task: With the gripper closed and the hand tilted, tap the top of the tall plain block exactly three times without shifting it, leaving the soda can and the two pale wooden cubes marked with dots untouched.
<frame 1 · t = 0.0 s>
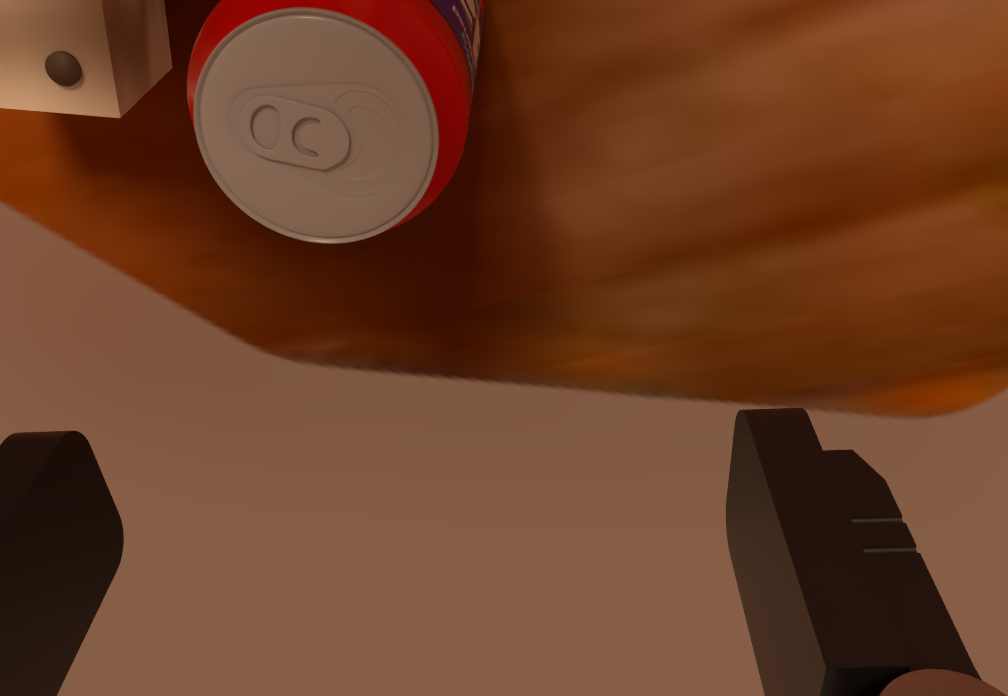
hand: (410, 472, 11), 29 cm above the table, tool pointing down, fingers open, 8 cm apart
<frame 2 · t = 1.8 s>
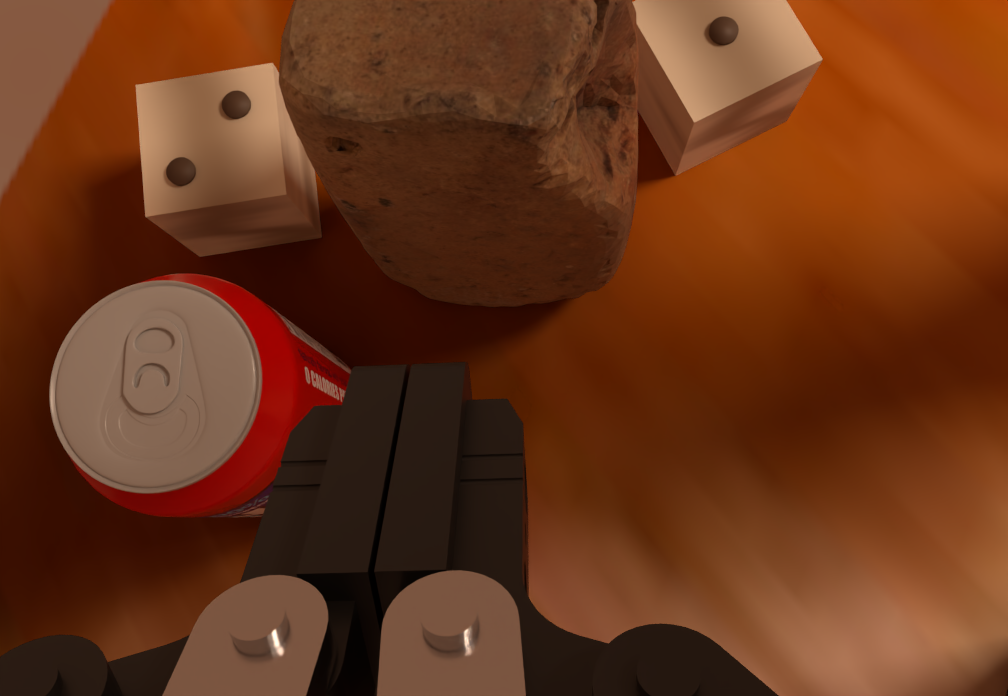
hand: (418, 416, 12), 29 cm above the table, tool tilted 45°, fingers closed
dotted cube two: (255, 189, 44), on the table
dotted cube one: (700, 97, 44), on the table
soda can: (294, 430, 42), on the table
block: (506, 238, 43), on the table
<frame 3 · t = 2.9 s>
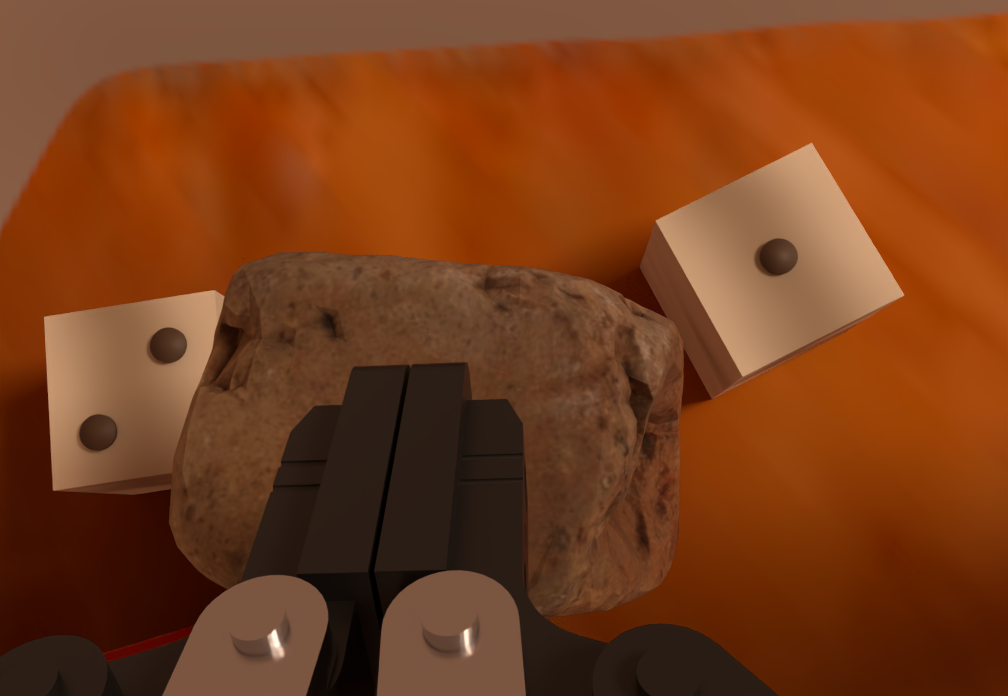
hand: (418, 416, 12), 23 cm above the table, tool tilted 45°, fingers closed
dotted cube two: (202, 409, 36), on the table
dotted cube one: (741, 299, 36), on the table
block: (505, 475, 35), on the table
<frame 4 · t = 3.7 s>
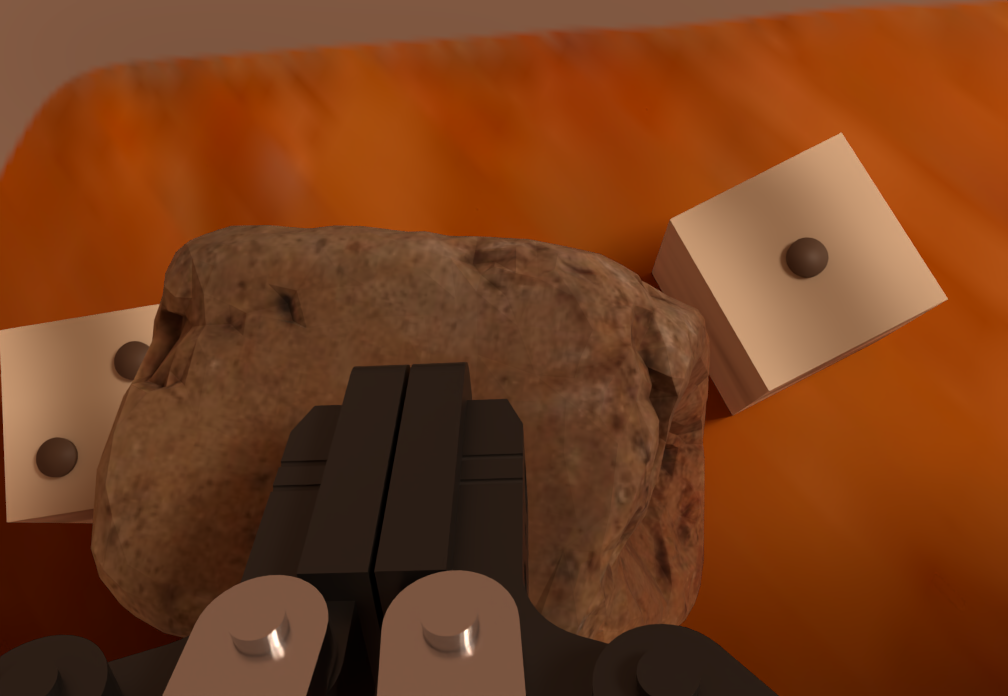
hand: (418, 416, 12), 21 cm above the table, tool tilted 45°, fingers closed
dotted cube two: (178, 429, 34), on the table
dotted cube one: (763, 306, 33), on the table
block: (507, 500, 32), on the table, touching gripper
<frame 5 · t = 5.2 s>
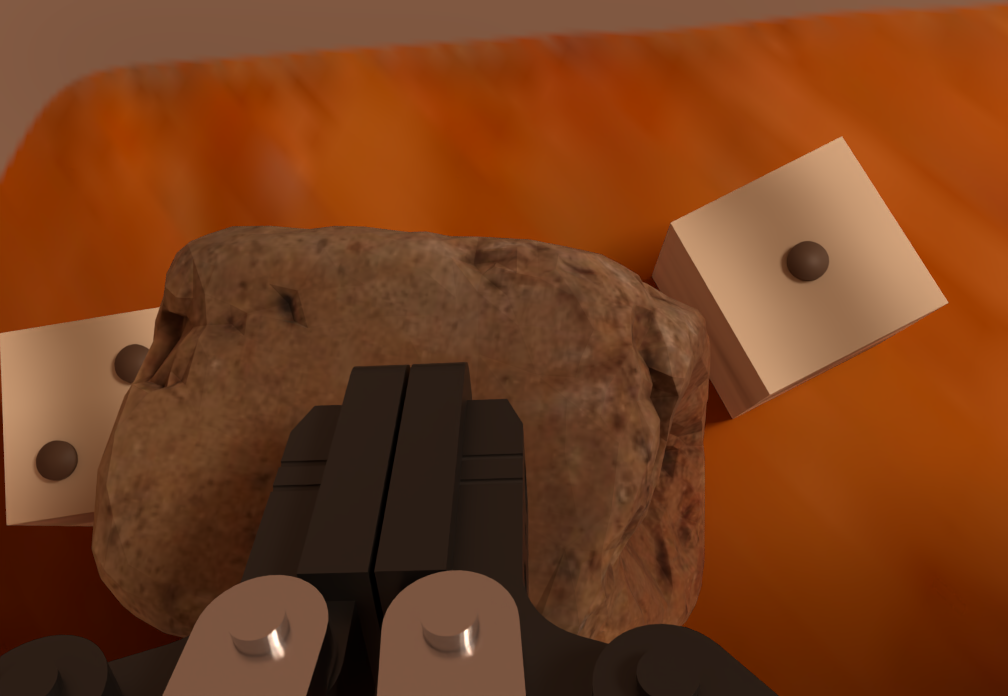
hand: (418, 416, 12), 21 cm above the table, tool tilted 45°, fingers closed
dotted cube two: (178, 432, 34), on the table
dotted cube one: (763, 309, 33), on the table
block: (507, 503, 32), on the table, touching gripper
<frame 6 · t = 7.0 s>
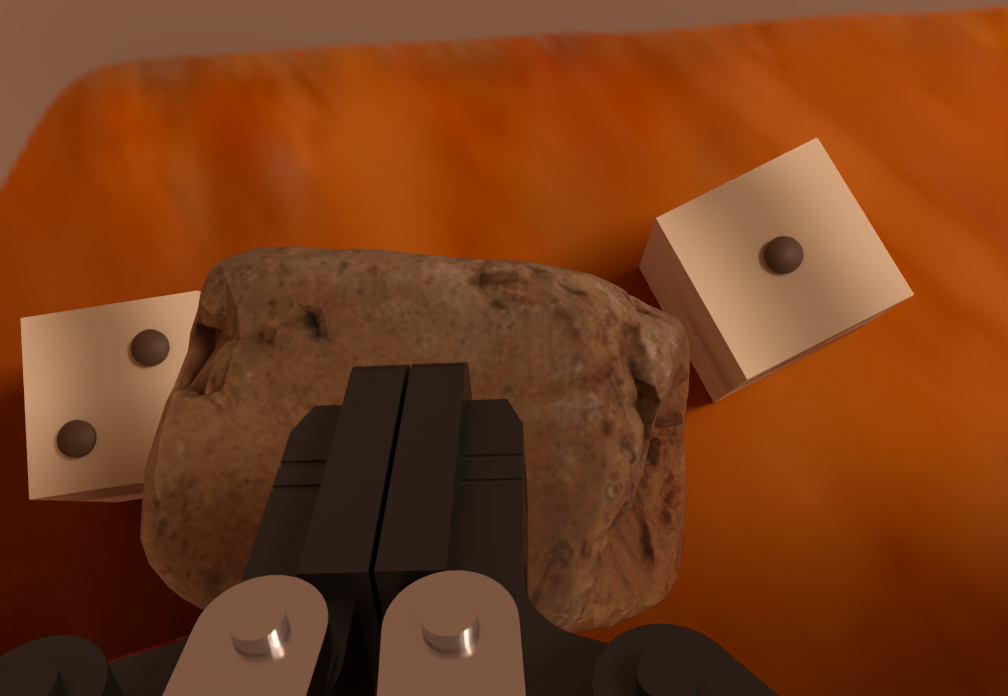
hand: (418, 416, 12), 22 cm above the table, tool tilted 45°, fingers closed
dotted cube two: (187, 413, 35), on the table
dotted cube one: (743, 299, 35), on the table
block: (501, 481, 34), on the table
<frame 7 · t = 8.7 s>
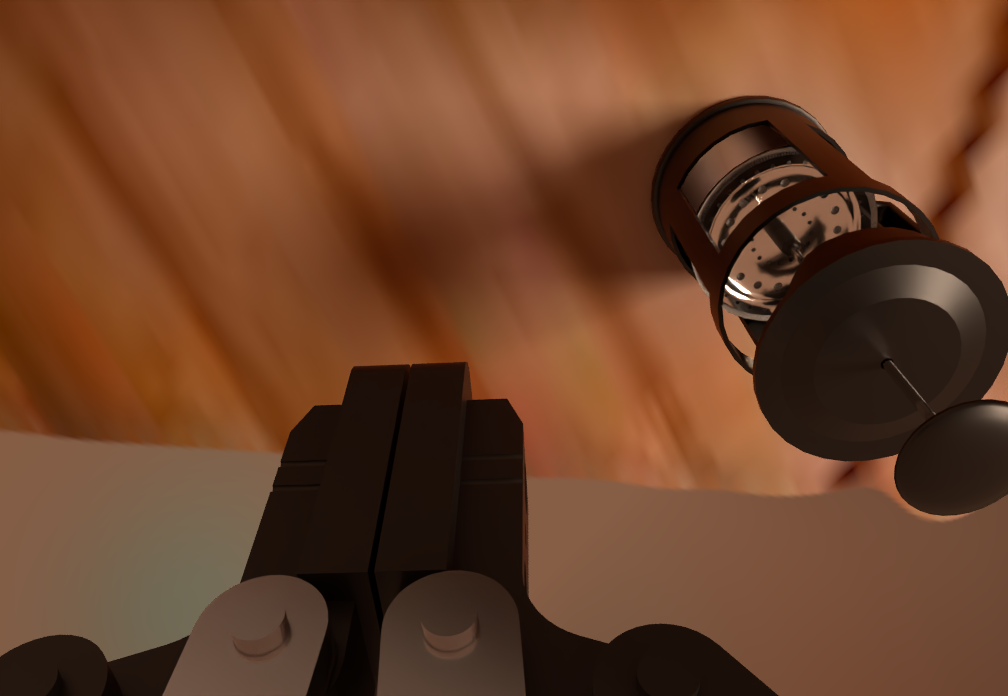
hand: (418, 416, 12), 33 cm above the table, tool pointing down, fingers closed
french press: (750, 187, 46), on the table
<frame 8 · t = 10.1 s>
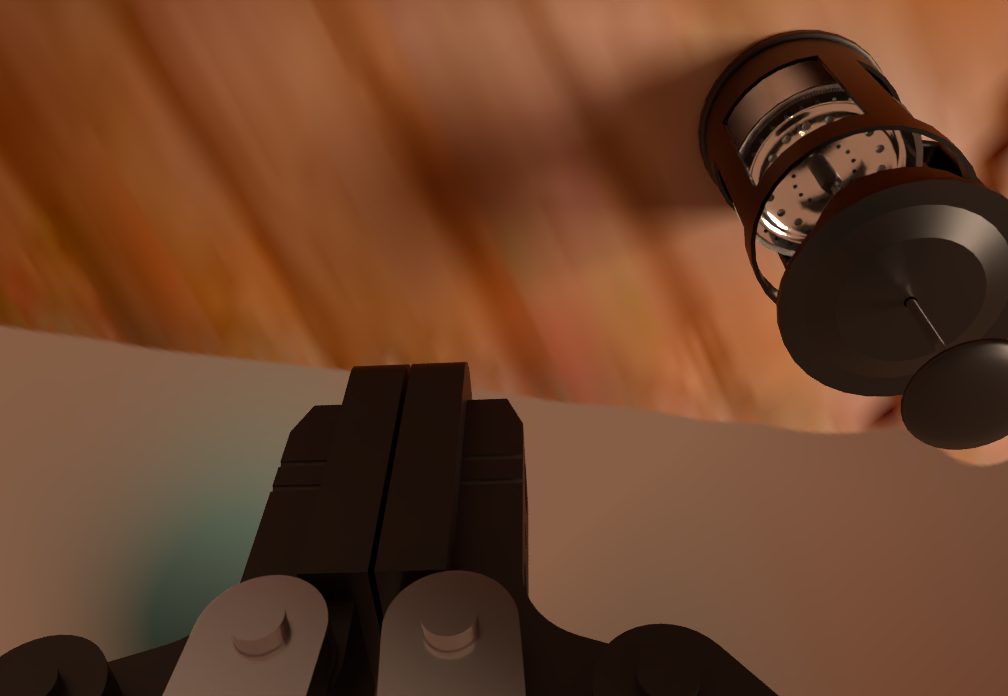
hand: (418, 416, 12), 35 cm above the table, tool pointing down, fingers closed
french press: (800, 123, 46), on the table
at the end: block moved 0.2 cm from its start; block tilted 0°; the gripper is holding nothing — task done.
